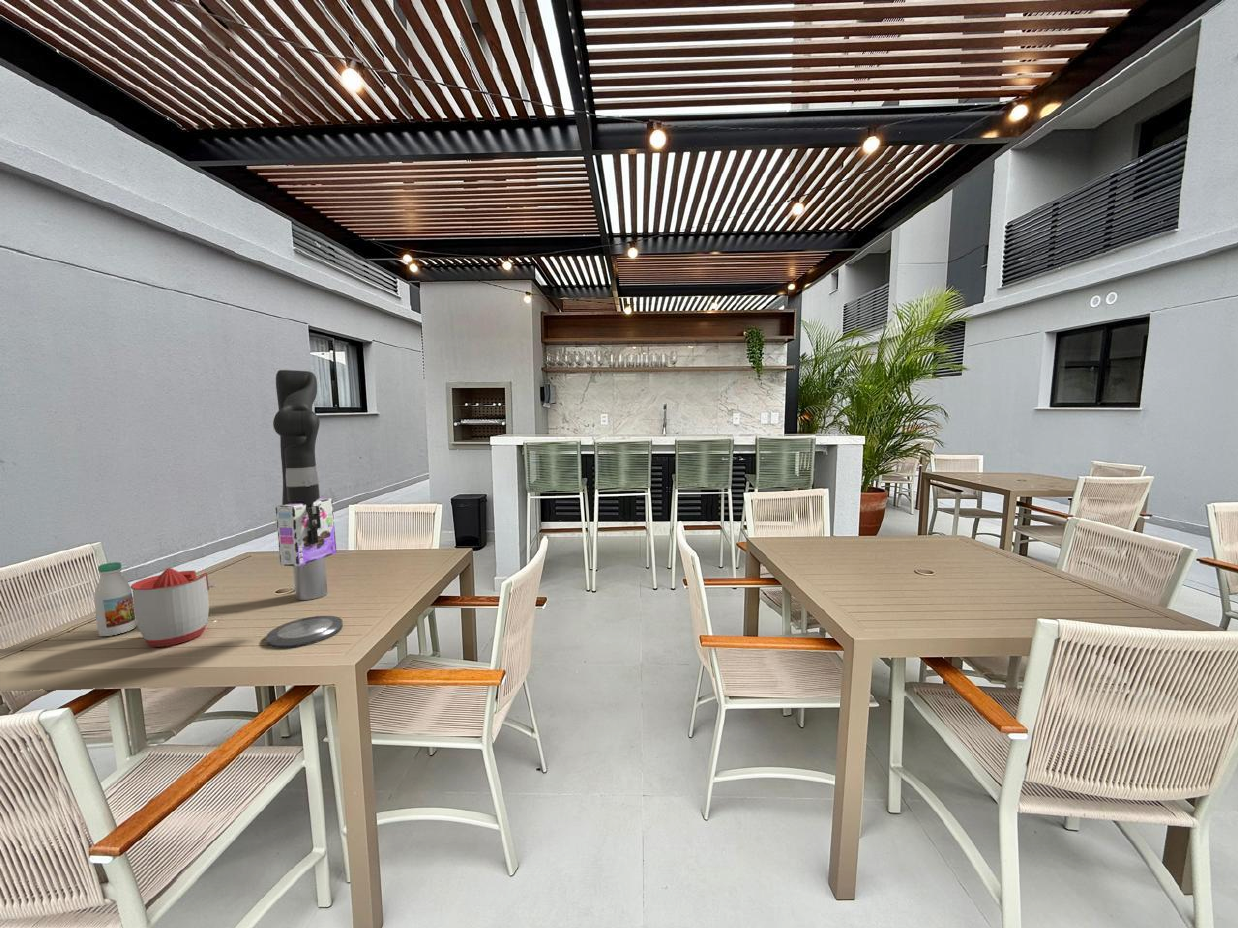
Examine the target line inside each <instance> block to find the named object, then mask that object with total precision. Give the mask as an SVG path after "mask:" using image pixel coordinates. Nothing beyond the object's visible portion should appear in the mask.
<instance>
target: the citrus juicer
mask: <svg viewBox="0 0 1238 928" xmlns="http://www.w3.org/2000/svg"><path fill="white" fill-rule="evenodd" d="M214 587H215V584H214V583H212V582H209V580H208V572H205V573H203V574H201V575H199V577H198V578H197V573H196V570H185V571H184V570H183V571H178V570H176V569H173V568H171V567H168V568H166V569H165V570H163V571H162V572H161V574H159V575H154V576H150V577H147V578H144V579H141V580H138V581H135V582H134V583H132V584H131V585H130V588H131V591H132V597H133V604H134V612H135V620H136V626H137V627H138V629H139V630H138V631H139V632H140V634H141V635H142V637H143V638H142V639H143V640H144V641H145V642H146V644H147V645H148V646H150V647H154V648H159V647H164V646H169V647H171V646H170V645H172V646H174V645H177V644H181V643H185V642H188V641H190V640H194V639H196V638H197V637H200V636H202V634H204V632H205V630H206V627H207V623H208V622H207V621H208V617H209V610H210V603H209V602H210V601H209V592H208V591H210V588H214Z"/></svg>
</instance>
